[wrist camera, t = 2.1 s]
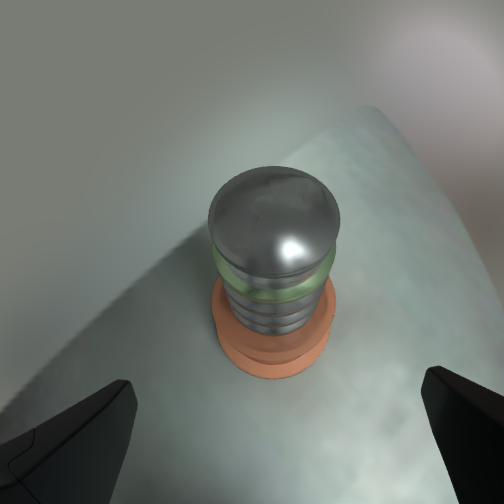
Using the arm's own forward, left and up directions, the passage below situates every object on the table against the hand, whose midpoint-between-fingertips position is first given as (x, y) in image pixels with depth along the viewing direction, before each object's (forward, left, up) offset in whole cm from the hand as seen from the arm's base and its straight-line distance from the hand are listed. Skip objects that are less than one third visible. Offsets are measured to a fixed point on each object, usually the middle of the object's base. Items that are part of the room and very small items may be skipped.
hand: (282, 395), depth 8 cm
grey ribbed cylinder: (+2, -5, -7) cm, 9 cm away
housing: (+2, -5, -12) cm, 13 cm away
